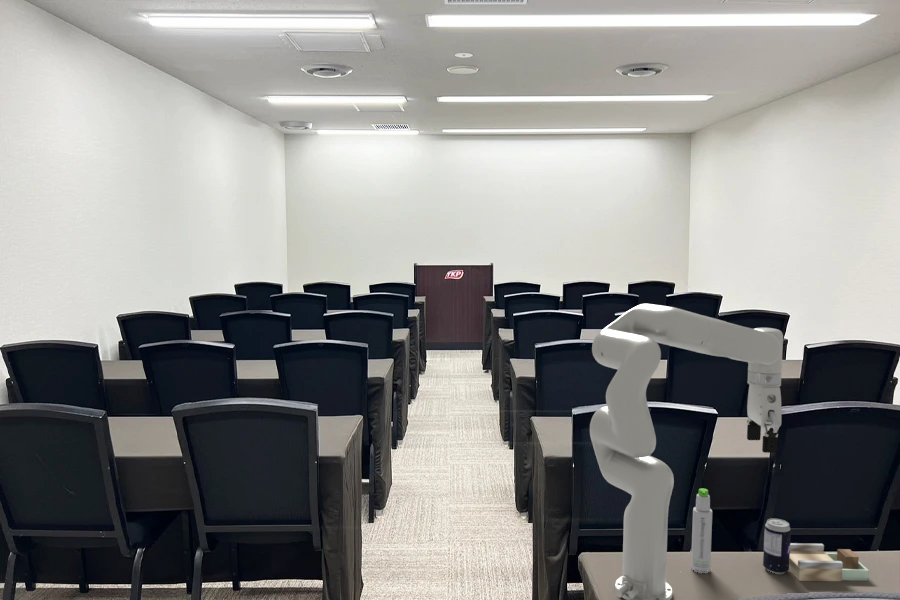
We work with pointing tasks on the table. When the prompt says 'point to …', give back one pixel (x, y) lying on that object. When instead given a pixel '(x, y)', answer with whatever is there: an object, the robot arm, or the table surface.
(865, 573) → the tray
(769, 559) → the beverage can
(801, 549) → the slot board
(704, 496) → the bottle
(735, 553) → the table surface
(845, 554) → the brown block
